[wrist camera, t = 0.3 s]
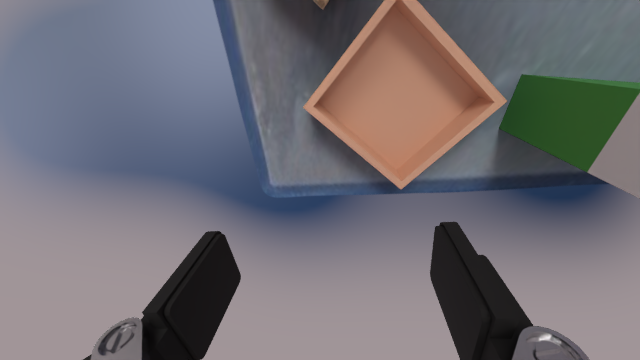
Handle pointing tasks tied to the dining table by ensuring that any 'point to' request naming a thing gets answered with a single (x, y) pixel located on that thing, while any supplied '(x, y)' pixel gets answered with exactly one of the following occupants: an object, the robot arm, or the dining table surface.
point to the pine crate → (321, 3)
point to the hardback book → (581, 124)
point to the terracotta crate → (403, 92)
